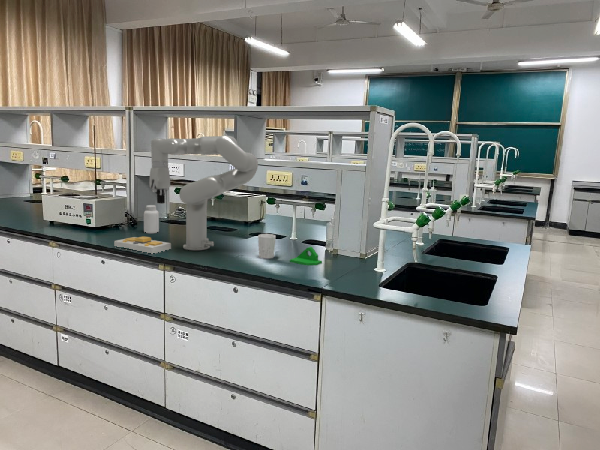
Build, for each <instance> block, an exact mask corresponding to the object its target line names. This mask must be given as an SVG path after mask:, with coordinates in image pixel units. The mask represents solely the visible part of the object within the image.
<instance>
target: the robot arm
mask: <svg viewBox="0 0 600 450" xmlns="http://www.w3.org/2000/svg"><path fill="white" fill-rule="evenodd" d="M150 148H151V149H150V151H151V153H150V154H151V168H150V170H149V183H148V184H149V188H150V189H151V191H152V192H153V193H155V195H156V202H157V204H165V199H166V198H165V196H166V193H167V191H169V190H170V187H171V177H170V176H171V175H170V170H169V169H170V168H169V155H172V156H173V155H174V156H175V155H179V156H180V155H201V156H216V155H220V156H221V157H222V158H223V159H225V161H227V162H228V163H229V165H231V166H233V169H231V170H227V171H225V172H223V173H219V174H217V175H216V174H215V175H210V176H206V177H204V178H200V179H198V180H196V181H193V182H191V183H187V184H185V185H184V186H182V187H181V188H180V191H179V193H178V194H179V195H178V197H179V199H180V201H181V202H182V203H183V204H185V205H186V209H185V210H186V211H185V212H186V213H185V221H186V222H185V223H186V224H185V226H186V227H185V231H186V237H185V238H186V241H185V244H183V245H182V248H183V249H184V250H186V251H188V250H189V251H205V250H209V249H210V248H211V247H214V245H215V242H214V241H211V240H209V238H208V237H207V231H208V230H207V226H208V225H207V221H208V220H207V219H208V218H207V216H208V214H207V213H208V211H207V210H208V209H207V208H208V200H210V199H212V198H214V197H215V198H216V197H218V196H220V195H222V194H224V193H226V192H229V191H231V190H234V189H236V188H239V187H241V186H244V185H245V184H247V183H248V182H250V181H252V179H253V178H254V176H255V175H256V173H257V170H258V167H259V161H258V158H257V157H256V155H255V154H253V153H251V152H247V151H246V152H245V150H244V149H242V148H241V147H240V146H239V144H238V141H237V139H236V138H235V137H234V136H231V135H219V136H218V135H217V136H215V135H214V136H213V135H212V136H210V135H209V136H200V137H197V138H196V137H195V138H152V139H151V141H150Z"/></svg>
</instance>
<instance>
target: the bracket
mask: <svg viewBox="0 0 600 450" xmlns="http://www.w3.org/2000/svg"><path fill="white" fill-rule="evenodd" d="M309 252H310V255H309ZM289 262H290V263H294V264H299V265H301V266H302V265H303V266H308V267H309V266H318V265H321V264H323V260H319V255H318V253H317V252H316V250H315V249H314V248H313V247H312V246H309V247H306V248H305V249H304V250H303V251H302V252H301V253H300V254H299V255H297V257H294V258H291V259H289Z"/></svg>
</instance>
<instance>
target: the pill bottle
mask: <svg viewBox="0 0 600 450" xmlns="http://www.w3.org/2000/svg"><path fill="white" fill-rule="evenodd" d="M159 216H160V213H159V211H158V210H157V205H154V204H149V205H147V204H146V205H145V210H144V212H143V232H144V233H145V232H146V233H145V234H157V232H158V233H159V231H160V230H159V229H160V222H159V221H160V220H159V219H160V217H159Z"/></svg>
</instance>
